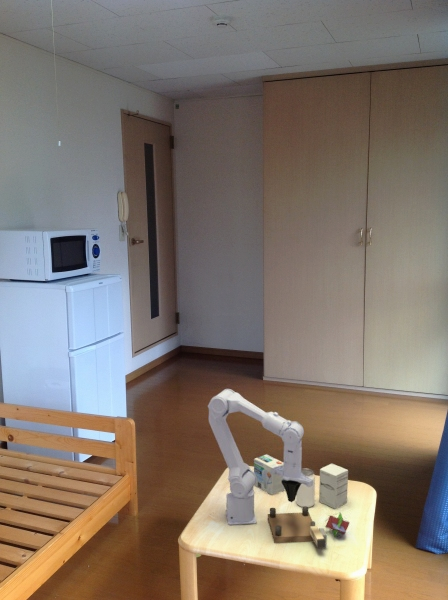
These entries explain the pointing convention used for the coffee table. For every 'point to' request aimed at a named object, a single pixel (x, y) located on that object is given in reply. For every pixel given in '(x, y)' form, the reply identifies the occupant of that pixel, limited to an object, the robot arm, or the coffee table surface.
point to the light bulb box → (268, 474)
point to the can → (306, 490)
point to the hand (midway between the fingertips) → (291, 500)
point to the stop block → (324, 536)
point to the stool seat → (290, 526)
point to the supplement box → (333, 486)
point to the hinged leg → (317, 535)
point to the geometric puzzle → (337, 524)
